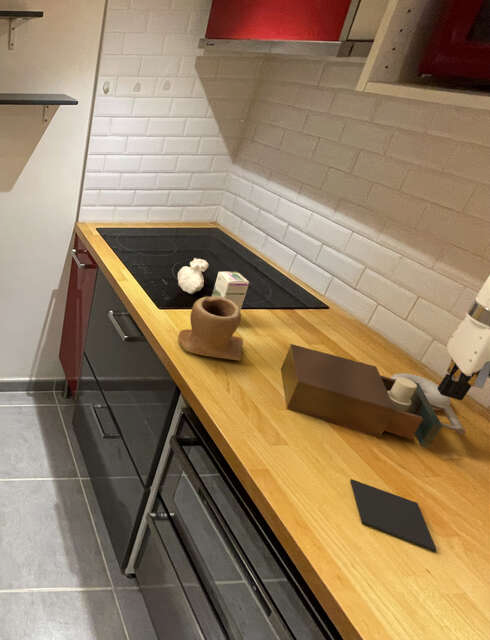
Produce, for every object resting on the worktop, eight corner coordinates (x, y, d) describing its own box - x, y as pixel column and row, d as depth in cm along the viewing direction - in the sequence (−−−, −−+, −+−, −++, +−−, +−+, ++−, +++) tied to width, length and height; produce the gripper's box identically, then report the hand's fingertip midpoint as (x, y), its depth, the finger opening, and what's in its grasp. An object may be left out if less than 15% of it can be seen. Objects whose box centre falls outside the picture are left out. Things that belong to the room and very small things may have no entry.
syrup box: (236, 327, 123) (251, 281, 117) (214, 326, 124) (228, 281, 118) (225, 315, 129) (239, 271, 123) (205, 315, 129) (217, 270, 123)
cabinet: (362, 393, 101) (376, 366, 98) (379, 438, 89) (395, 409, 86) (280, 369, 108) (290, 343, 105) (286, 408, 96) (298, 381, 93)
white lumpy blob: (196, 304, 138) (226, 279, 134) (180, 290, 136) (210, 265, 133) (180, 284, 149) (207, 261, 145) (165, 271, 147) (192, 248, 144)
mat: (415, 505, 76) (417, 502, 76) (435, 552, 69) (436, 550, 69) (349, 481, 80) (351, 478, 80) (361, 523, 73) (363, 521, 73)
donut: (391, 402, 99) (454, 420, 94) (397, 390, 97) (461, 408, 92) (381, 376, 106) (438, 391, 102) (387, 364, 105) (445, 379, 100)
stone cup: (180, 359, 110) (195, 308, 104) (175, 332, 121) (188, 284, 115) (249, 373, 106) (269, 321, 100) (238, 344, 116) (254, 295, 110)
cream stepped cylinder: (400, 409, 94) (416, 379, 90) (405, 422, 91) (423, 392, 87) (375, 402, 96) (391, 373, 92) (380, 414, 92) (396, 384, 89)
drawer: (437, 412, 95) (450, 391, 92) (463, 459, 84) (478, 436, 82) (324, 380, 103) (333, 360, 101) (335, 418, 93) (346, 397, 90)
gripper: (554, 346, 72) (493, 429, 79) (508, 303, 84) (459, 379, 91) (489, 331, 75) (437, 412, 83) (454, 292, 87) (411, 366, 95)
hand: (449, 394), depth 87 cm, fingers closed
